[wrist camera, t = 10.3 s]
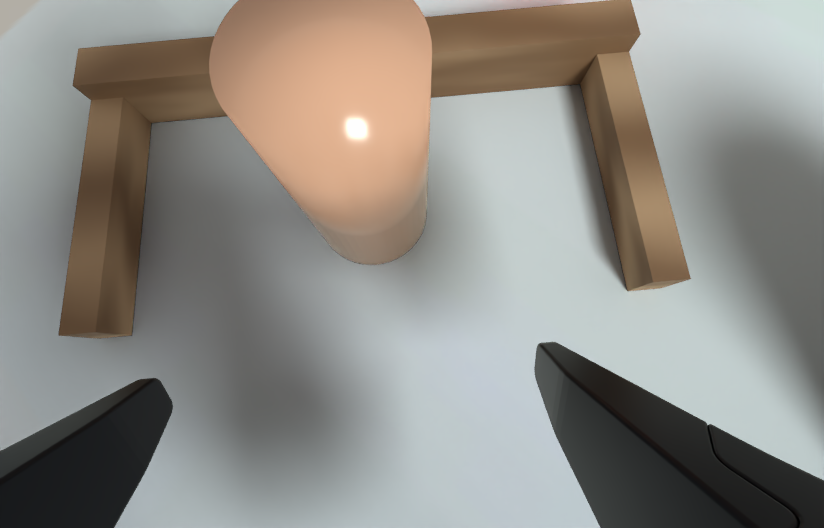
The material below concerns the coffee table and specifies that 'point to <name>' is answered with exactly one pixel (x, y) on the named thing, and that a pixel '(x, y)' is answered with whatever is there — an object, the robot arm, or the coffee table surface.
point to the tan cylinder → (335, 112)
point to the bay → (451, 75)
